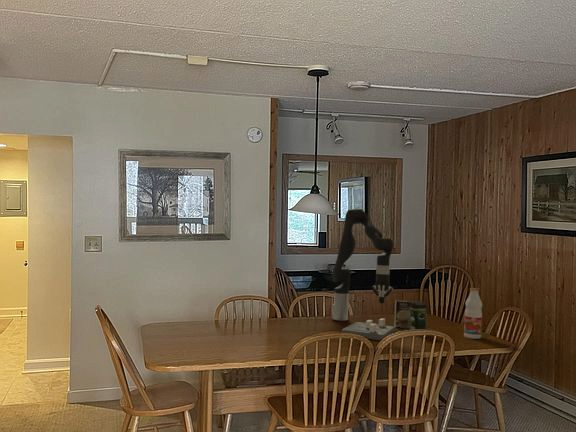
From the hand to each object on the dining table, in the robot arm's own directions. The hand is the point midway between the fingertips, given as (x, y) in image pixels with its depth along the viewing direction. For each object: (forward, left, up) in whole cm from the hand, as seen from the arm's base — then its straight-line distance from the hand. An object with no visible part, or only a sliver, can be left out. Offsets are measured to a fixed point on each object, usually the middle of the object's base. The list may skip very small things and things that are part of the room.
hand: (381, 303), depth 324 cm
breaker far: (-2, +9, -15) cm, 17 cm away
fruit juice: (+47, +25, -18) cm, 56 cm away
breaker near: (-2, -9, -15) cm, 17 cm away
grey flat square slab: (-7, 0, -18) cm, 19 cm away
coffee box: (+5, +29, -18) cm, 35 cm away
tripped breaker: (-7, 0, -15) cm, 16 cm away
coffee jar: (+17, +17, -18) cm, 30 cm away
